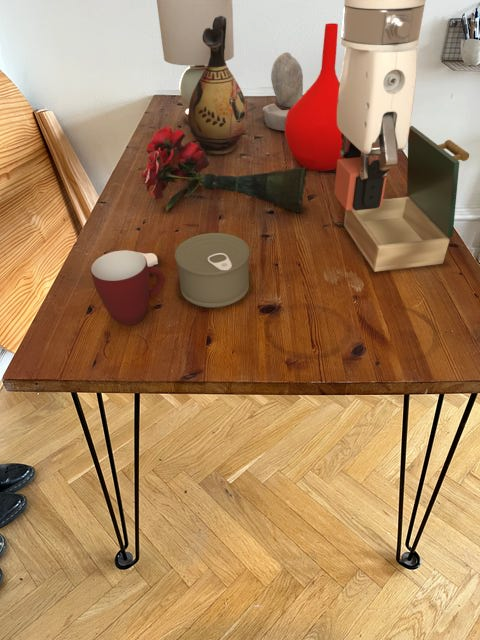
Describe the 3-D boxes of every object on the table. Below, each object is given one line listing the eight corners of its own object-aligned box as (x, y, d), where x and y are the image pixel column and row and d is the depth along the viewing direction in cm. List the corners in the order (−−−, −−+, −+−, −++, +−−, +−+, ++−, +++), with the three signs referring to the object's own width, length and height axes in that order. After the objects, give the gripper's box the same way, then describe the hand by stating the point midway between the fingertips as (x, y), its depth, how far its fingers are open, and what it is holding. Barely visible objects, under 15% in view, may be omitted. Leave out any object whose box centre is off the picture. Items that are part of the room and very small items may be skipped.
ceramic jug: (243, 160, 122) (239, 24, 103) (184, 158, 125) (170, 24, 105) (253, 136, 135) (251, 11, 116) (199, 135, 137) (189, 11, 118)
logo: (128, 254, 89) (112, 279, 83) (127, 251, 89) (111, 276, 83) (161, 257, 88) (147, 282, 82) (161, 253, 88) (146, 279, 82)
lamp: (236, 129, 140) (230, -18, 117) (167, 131, 140) (148, -15, 118) (237, 108, 155) (232, -26, 132) (175, 110, 156) (160, -23, 133)
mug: (149, 289, 81) (139, 237, 75) (179, 309, 77) (171, 257, 70) (95, 318, 76) (79, 265, 69) (124, 342, 71) (110, 288, 65)
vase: (268, 163, 120) (269, 25, 101) (317, 144, 129) (327, 14, 110) (323, 186, 109) (336, 36, 90) (373, 163, 118) (395, 22, 99)
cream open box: (374, 271, 83) (378, 248, 80) (343, 225, 96) (346, 203, 92) (443, 263, 84) (449, 239, 81) (403, 218, 97) (408, 196, 94)
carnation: (299, 238, 107) (148, 221, 111) (310, 161, 109) (162, 147, 113) (301, 212, 91) (125, 193, 95) (313, 123, 94) (142, 108, 98)
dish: (257, 122, 144) (256, 105, 141) (297, 114, 148) (298, 97, 145) (280, 137, 134) (280, 119, 131) (322, 128, 138) (324, 110, 135)
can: (230, 259, 87) (228, 226, 83) (263, 293, 79) (263, 258, 75) (168, 278, 83) (163, 244, 79) (197, 317, 75) (192, 281, 71)
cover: (454, 163, 72) (489, 153, 72) (407, 126, 85) (437, 118, 85) (448, 238, 81) (479, 229, 81) (406, 195, 94) (433, 187, 93)
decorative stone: (299, 112, 150) (302, 59, 140) (267, 111, 152) (267, 58, 142) (305, 98, 161) (307, 47, 152) (274, 97, 163) (275, 47, 153)
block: (367, 190, 61) (373, 155, 58) (382, 206, 58) (388, 170, 55) (333, 194, 60) (337, 159, 58) (346, 210, 57) (350, 174, 54)
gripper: (461, 40, 41) (417, 228, 53) (382, 11, 54) (361, 168, 66) (378, 46, 40) (352, 236, 52) (318, 16, 53) (308, 174, 65)
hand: (357, 197), depth 59 cm, fingers closed on block, 4 cm apart
